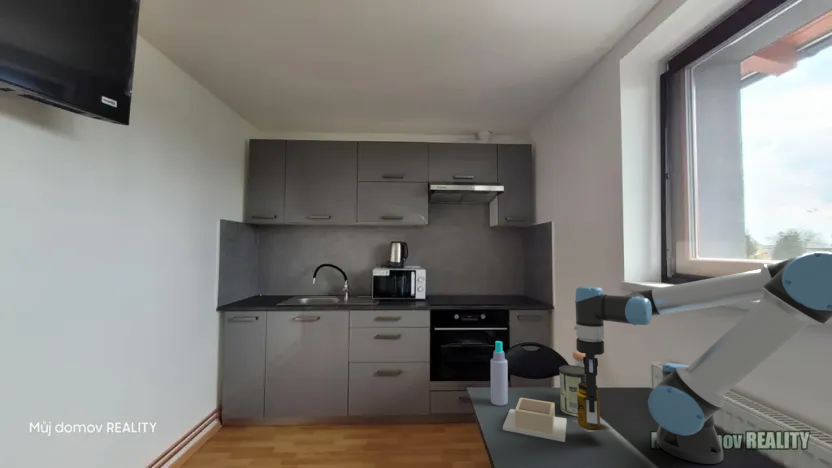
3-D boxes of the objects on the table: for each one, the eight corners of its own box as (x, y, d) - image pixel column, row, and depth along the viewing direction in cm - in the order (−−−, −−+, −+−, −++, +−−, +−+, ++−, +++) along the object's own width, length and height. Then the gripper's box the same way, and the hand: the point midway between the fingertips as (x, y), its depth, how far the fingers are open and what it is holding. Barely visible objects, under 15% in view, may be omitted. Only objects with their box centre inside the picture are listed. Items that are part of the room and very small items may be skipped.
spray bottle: (506, 399, 140) (506, 340, 140) (508, 406, 134) (508, 344, 134) (489, 399, 140) (489, 339, 141) (491, 405, 134) (491, 343, 135)
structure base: (566, 421, 122) (566, 402, 122) (565, 442, 109) (564, 420, 110) (510, 411, 129) (510, 393, 130) (502, 429, 117) (502, 409, 117)
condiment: (571, 421, 114) (570, 381, 115) (597, 418, 116) (596, 379, 116) (586, 432, 107) (585, 390, 108) (613, 430, 108) (612, 388, 109)
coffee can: (586, 404, 135) (584, 365, 136) (597, 417, 125) (595, 374, 126) (556, 404, 136) (555, 364, 137) (565, 416, 126) (563, 373, 126)
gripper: (576, 331, 122) (577, 403, 121) (576, 345, 105) (577, 429, 104) (602, 333, 119) (603, 407, 118) (606, 347, 102) (608, 434, 101)
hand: (591, 417), depth 111 cm, fingers closed on condiment, 6 cm apart
